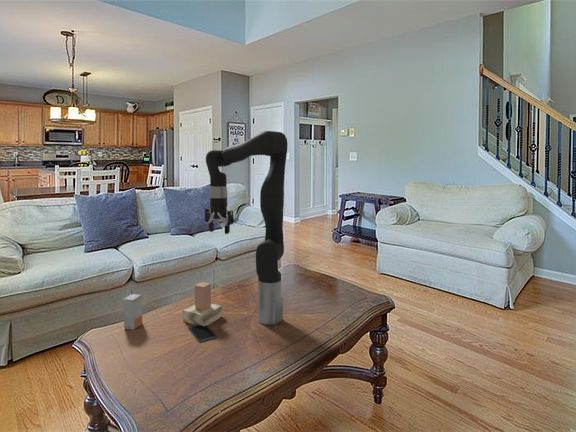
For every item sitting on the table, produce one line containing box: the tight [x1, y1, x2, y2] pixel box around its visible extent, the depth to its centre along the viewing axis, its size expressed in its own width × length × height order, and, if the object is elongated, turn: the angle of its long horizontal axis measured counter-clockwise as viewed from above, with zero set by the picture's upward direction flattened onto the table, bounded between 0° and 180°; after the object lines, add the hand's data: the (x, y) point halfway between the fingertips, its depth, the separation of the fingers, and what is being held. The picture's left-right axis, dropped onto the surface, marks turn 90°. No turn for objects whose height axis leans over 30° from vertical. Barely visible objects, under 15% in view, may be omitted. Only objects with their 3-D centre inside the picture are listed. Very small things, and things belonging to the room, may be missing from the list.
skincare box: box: [122, 293, 143, 331], centre depth 146 cm, size 6×4×12 cm
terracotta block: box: [194, 281, 212, 311], centre depth 153 cm, size 4×4×10 cm
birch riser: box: [182, 303, 223, 326], centre depth 154 cm, size 11×11×5 cm
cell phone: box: [187, 325, 218, 344], centre depth 142 cm, size 7×14×1 cm, turn 32°
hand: (219, 232), depth 168 cm, fingers open, 8 cm apart
